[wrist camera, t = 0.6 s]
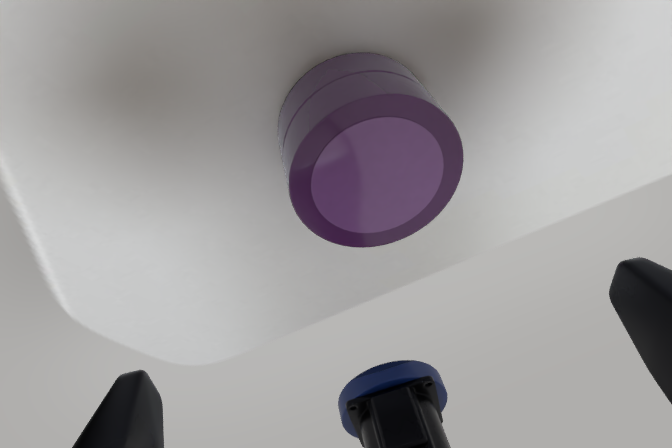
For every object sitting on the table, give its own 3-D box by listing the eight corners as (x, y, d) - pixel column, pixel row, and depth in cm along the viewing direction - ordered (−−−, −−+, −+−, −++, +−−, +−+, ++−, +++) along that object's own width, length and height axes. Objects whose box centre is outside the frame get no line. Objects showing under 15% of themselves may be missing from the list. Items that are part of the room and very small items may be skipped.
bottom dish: (435, 167, 24) (451, 191, 22) (302, 209, 24) (308, 236, 22) (417, 30, 19) (435, 47, 18) (255, 81, 19) (258, 103, 18)
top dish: (451, 191, 22) (470, 219, 20) (308, 236, 22) (316, 268, 20) (435, 47, 18) (457, 68, 16) (258, 103, 18) (263, 129, 16)
